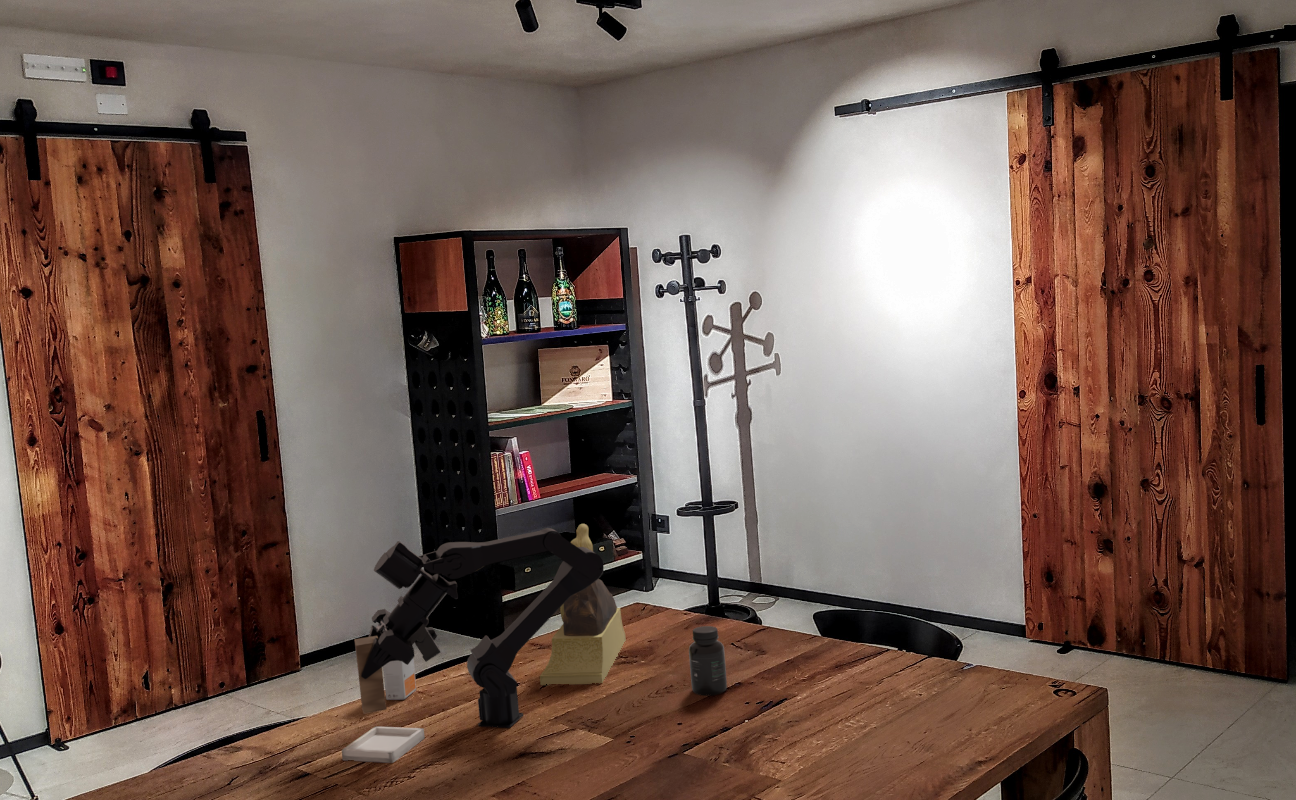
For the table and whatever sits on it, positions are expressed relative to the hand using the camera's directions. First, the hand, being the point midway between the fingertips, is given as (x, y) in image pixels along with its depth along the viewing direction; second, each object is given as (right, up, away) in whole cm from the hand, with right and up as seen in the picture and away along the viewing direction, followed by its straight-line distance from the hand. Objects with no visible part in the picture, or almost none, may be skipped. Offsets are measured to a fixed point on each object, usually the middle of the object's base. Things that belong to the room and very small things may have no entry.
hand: (362, 673), depth 195 cm
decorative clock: (+38, -8, +40) cm, 56 cm away
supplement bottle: (+63, -7, +16) cm, 66 cm away
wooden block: (+2, -6, +1) cm, 7 cm away
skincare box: (+1, -12, +28) cm, 31 cm away
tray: (+4, -13, -1) cm, 14 cm away
